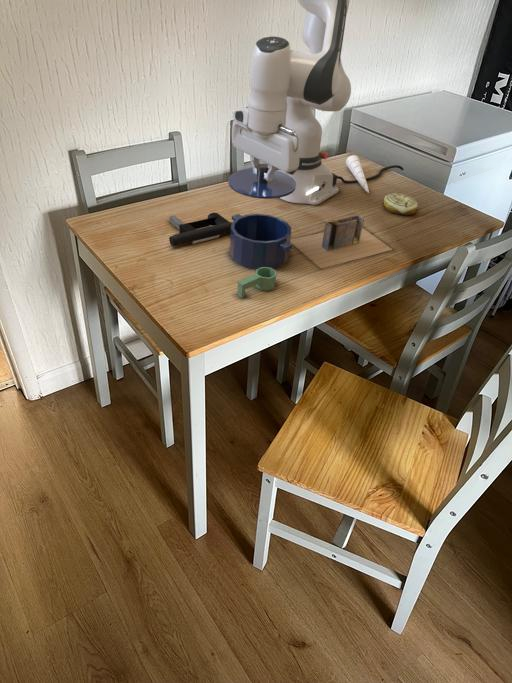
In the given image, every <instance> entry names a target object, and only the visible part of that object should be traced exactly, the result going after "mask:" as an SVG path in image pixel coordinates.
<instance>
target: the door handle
mask: <svg viewBox="0 0 512 683" xmlns="http://www.w3.org/2000/svg"><path fill="white" fill-rule="evenodd" d="M168 219H169V220H168V221H169V223H170V224H171V225H172V226H174V227H175V228H176V229H177V230H178V231H179V233H176V234H173V235H170V236H169V237H168V241H169V244H170V245H171V246H172V247H173V246H176V247H177V246H182V245H185V244H189V243H191V244H192V245H195V244H199V243H202V242H205V241H206V242H207V241H209V240H210V241H211V240H214V239H218V238H220V236H222V235H227V234H231V225H232V222H233V221H229V220H228V219H227V218H225V217H224V216H222V215H221V214H220V213H218V212H210V213H209V214H208V215H207V218H204V219H200V220H195V221H190V222H186V223H184V222H183V221H182V220H180V218H178V217H177V216H176V215H169V216H168Z"/></svg>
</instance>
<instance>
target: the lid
mask: <svg viewBox="0 0 512 683" xmlns="http://www.w3.org/2000/svg"><path fill="white" fill-rule="evenodd" d="M268 170H269V168H268V164H267V163H260V164H259V165H258V176H257V175H255V174H253V167H250V168H244V169H240V170H237V171H235V172H232V174H230V175H229V176H228V179H227V180H228V181H227V183H228V186H229V188H230V189H231V190H233V191H234V192H235V193H237V194H240V195H242V196H245V197H249V198H254V199H263V200H271V199H272V200H273V199H280V197H284V196H287V195H290V194H291V193H293V192H294V191H295V189H296V182H295V180H294V179H293V178H292V177H291V176H289V175H287V174H285V173H283V172H280V170H276V171H275V172H274V174H273V180H272V181H267V180H265V179H264V173H265V172H268Z"/></svg>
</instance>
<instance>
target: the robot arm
mask: <svg viewBox="0 0 512 683" xmlns="http://www.w3.org/2000/svg"><path fill="white" fill-rule="evenodd" d="M296 1H297V2H298V4H299V5H300V6H301V7H302V8H303V9H304V10H305V14H304V19H303V24H302V29H301V39H302V41H303V43H304V44H305V46H306V47H307V48H308V49H309V51H310V52H304V51H299V50H295V49H291V45H290V42H289V41H288V40H287V39H286V38H284V37H280V36H265V37H262V38H260V39H258V40H257V41H256V42H255V43H254V46H253V51H252V56H251V62H250V69H249V71H250V72H249V88H250V89H249V90H250V96H249V100H248V106H244V107H240V108H237V109H234V110H233V111H232V118H233V121H232V127H231V143H232V146H233V148H234V149H236V150H238V151H241V152H243V153H245V154H247V155H249V160H250V163H251V167H252V168H253V174H255V175H257V176H258V165H259V164H261V163H260V161H261V162H263V163H264V164H267V165H268V168H269V170H268V172H265V173H264V179H265V180H267V181H272V180H273V174H274V172H275V171H278V170H279V171H280V172H283V173H285V174H287V175H289V176H291V177H292V178H293V179H294V180H295V182H296V189H295V191H294V192H293V193H291V194H290V195H287V196H284V197H280V198H279V199H280V200H282V201H284V202H289V203H292V204H308V205H314V206H317V205H319V204H321V203H323V202H324V201H326V200H328V199H330V197H332V196H334V195H335V194H337V193H339V190H340V189H339V187H338V186H337V181H338V180H340V181H341V182H342V183H343V184H356V183H359V182H358V180H357V179H354V180H346V179H344V177H342V176H339V175H337V174H335V173H334V172H332V171H331V170H330V169H329V168H328V167H327V166H326V165H325V164H324V163H322V159H323V160H327V159H328V157H329V153H328V152H324V151H320V150H321V143H322V137H323V128H322V127H323V126H322V125H321V123H320V122H319V120H318V119H317V118H316V117H315V115H314V113H313V110H312V109H314V110H318V111H321V112H340V111H341V110H343V108H345V107H346V106H347V104H348V103H349V100H350V98H351V95H352V84H351V80H350V78H349V77H348V75H347V73H346V71H345V70H344V66H343V63H342V58H341V57H342V56H341V55H342V51H343V50H342V49H343V42H344V35H345V29H346V20H347V14H348V11H349V7H350V1H351V0H296ZM390 169H399V170H401V171H404V170H405V169H404V168H403V167H402V166H401V165H400V164H399V165H397V164H394V165H389V166H386V167H383V168H381V169H380V170H379V171H378V173H377V174H375V175H373V176H370V177H365V179H366V182H367V181H371V180H374V179H376V178H378V177H380V176H381V174H382V172H385V171H386V170H390Z"/></svg>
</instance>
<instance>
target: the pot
mask: <svg viewBox="0 0 512 683" xmlns="http://www.w3.org/2000/svg"><path fill="white" fill-rule="evenodd" d="M231 220H232V221H231V222H232V225H231V233H230V242H229V254H230V257H231V259H232V260H233V261H234V262H235V263H236V264H238V265H240V266H241V267H244V268H246V269H247V268H248V269H251V270H257V269H259V268H261V267H270V268H272V269H277V268H280V267H282V266H283V265H285V264H286V262H287V261H288V260H289V255H290V250H292V249H293V246H294V245H293V244H292V243H291V242H290V240H292V239H291V237H292V226H291V225H290V224H289V222H287V221H286V220H284V219H282V218H281V217H279V216H274V215H271V214H266V213H265V214H264V213H250V214H249V213H248V214H244V215H241V214H240V213H235V214H234V215H232V216H231Z"/></svg>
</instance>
